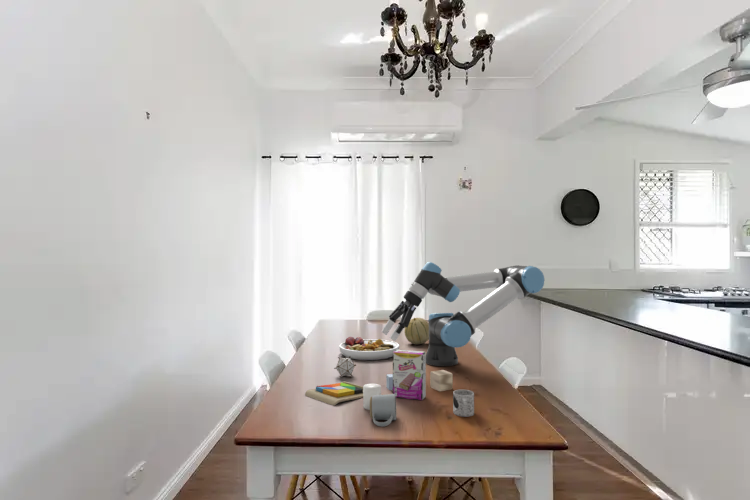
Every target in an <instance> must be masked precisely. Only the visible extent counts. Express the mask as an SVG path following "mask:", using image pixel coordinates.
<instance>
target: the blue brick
mask: <svg viewBox="0 0 750 500" xmlns="http://www.w3.org/2000/svg"><path fill="white" fill-rule="evenodd" d="M385 376H386V381H385V383H386V388H387V390H388V391H393V373H390V374H388V373H387V374H386V375H385Z"/></svg>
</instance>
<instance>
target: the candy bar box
mask: <svg viewBox="0 0 750 500" xmlns="http://www.w3.org/2000/svg"><path fill="white" fill-rule="evenodd" d="M426 353H427V351H421V350H409V349H408V350H407V349H399V350H398V349H397V350H395V351H394V352H393V357H392V374H393V390H392V394H395V395H396V399H397V398H398V399H406V400H413V401H414V400H416V401H423V400H424V399H425V398H426V396H427V394H426V390H427V389H426V388H427V387H426V384H427V383H426V382H427V380H426V378H427V377H426V376H427V373H426V372H427V371H426V370H427V368H426V366H427V363H426Z"/></svg>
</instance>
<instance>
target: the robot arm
mask: <svg viewBox="0 0 750 500" xmlns="http://www.w3.org/2000/svg"><path fill="white" fill-rule="evenodd" d="M442 270H443V269H442V268H441V267H439V266H438V265H437V264H436V263H434V262H432V261H427V262H426V263H425V264H424V265H423V267H422V268H421V269H420V271H419V273H418V274H417V276H416V278H415V279H414V281H413V282H411V283H410V287H409V288H408V290H407V291H406V293H405V294H404V296H403V299H404V300H405V301H404V300H402V301H401V302H400V303H399V304H398V305H397V307H396V308H395V309H394V310H393V311H392V312H391V314H389V316H388V317H389V319H388V320H387V322H386V324H385V325H384V327H383V328H382V329H381V333H382V334H384V335H385V336H387V335H388V334H389V332H390V330H391V329H392V328H393V326H394V324H395V323H397V320H398V319H400V321H399V322H398V323H397V326H396V327H395V328H394V330H393V331H392V333H391V334H390V336H389V339H390V340H391V341H393V342H396V341H397V340H398V338H399V336H400V334H401V333H402V332H403V330H405V327H406V328H407V327H408V325H409V322H410V320H411V319H413V315H414V314H415V311H416V310H417V308H418V307H419V306H420V305H421V303H422V301H423V299H425V297H426V296H427V294H428V293H429V294H430V295H433V296H437V297H441V298H443V299H444V300H445V301H447V302H448V303H453V302H454V301H455V300H456V299H457V298H458V297H459V295H460V293H462V292H469V291H476V290H485V289H494V288H495V289H494V290H493V291H492V292H490V293H488V295H485V296H484V297H483V298H482V299H480V300H479V301H478V302H476V303H475V304H473V305H472V306H470V307H469V308H467V309H466V310H465V311H460V310H459V311H457V312H455V313H453V312H439V313H438V312H433V313H430V314H429V315H428V321H427V322H428V323H429V340H428V348H427V350H426V365H429V366H435V367H451V366H455V365H458V364H459V357H458V354H457V351H456V349H457V348H462V347H464V346H466V345H467V344H468V343H469V342H470V341H471V337H472V336H473V335H475V333H476V328H478V327H479V326H481V325H482V324H484V323H485V322H487V321H488V320H489V319H491V318H492V317H493V316H494V315H496V314H497V313H499V312H500V311H501V310H503V309H504V308H505V307H507V306H508V305H510V304H512V303H513V302H514V301H516V300H517V299H518V300H523V299H524V298H525V297H527V296H528V295H530V294H538V293H539V292H540V291H542V289H543V287H544V286H545V275H544V273H543V272H542V270H541V269H540V268H539V267H537V266H533V265H528V266H527V265H511V266H507V267H502V268H495V269H494V270H493V271H487V272H477V273H471V274H462V275H461V274H460V275H454V276H445V277H444V276H443V275H442V274H441V273H442ZM400 317H401V318H400Z"/></svg>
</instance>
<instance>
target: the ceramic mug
mask: <svg viewBox="0 0 750 500" xmlns="http://www.w3.org/2000/svg"><path fill="white" fill-rule="evenodd" d="M369 416H370V418H371V419H372V421H373V424H375V425H376V426H377V427H386V426H387V427H388V425H390V424H391V423H392V421H397V398H396V395H395V394H393V393H389V394H387V393H386V394H381V395H375V396H372V397H371V398H370V410H369ZM380 420H381V421H382V422H380ZM383 421H384V422H383Z"/></svg>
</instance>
